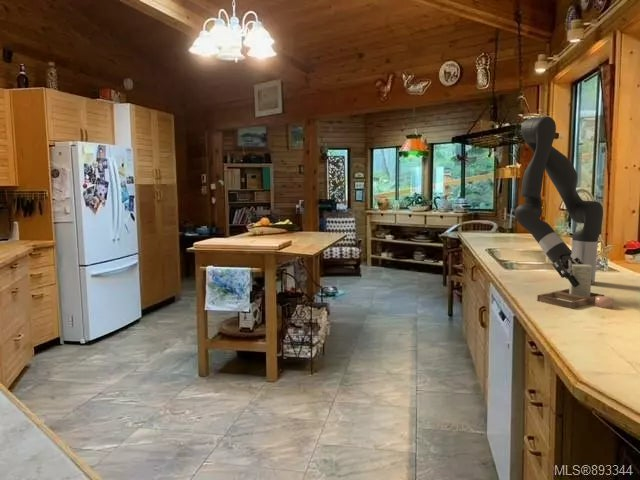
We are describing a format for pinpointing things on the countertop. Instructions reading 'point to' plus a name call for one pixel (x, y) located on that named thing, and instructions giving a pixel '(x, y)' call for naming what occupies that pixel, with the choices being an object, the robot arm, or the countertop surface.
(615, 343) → the countertop surface
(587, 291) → the skincare box
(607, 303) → the pinkish brown rounded piece
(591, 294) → the walnut organizer
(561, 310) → the countertop surface
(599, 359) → the countertop surface
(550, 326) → the countertop surface
